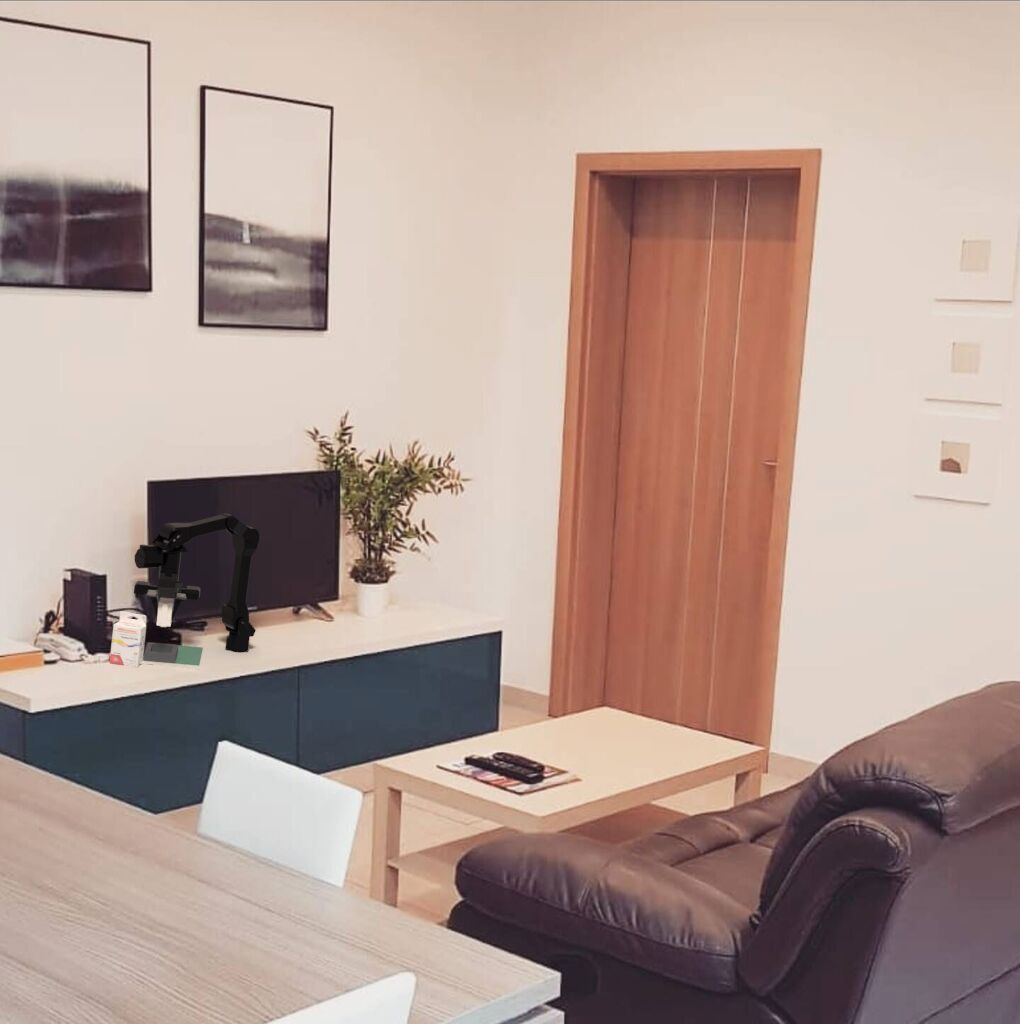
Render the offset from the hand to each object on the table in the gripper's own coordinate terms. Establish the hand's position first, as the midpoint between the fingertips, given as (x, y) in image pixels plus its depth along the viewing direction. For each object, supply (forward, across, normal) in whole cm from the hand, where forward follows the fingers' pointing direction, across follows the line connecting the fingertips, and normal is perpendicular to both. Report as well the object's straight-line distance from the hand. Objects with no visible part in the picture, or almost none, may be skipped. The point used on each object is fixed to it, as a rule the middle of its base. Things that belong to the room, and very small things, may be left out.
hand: (164, 618), depth 451 cm
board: (+12, +4, +4) cm, 14 cm away
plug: (+2, 0, 0) cm, 2 cm away
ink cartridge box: (+13, -9, -7) cm, 17 cm away
